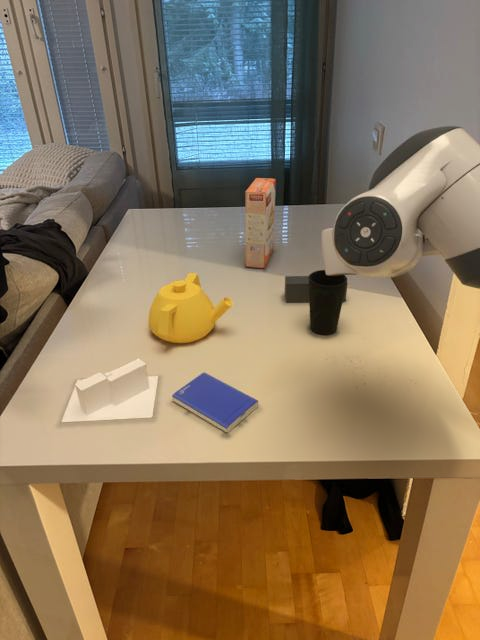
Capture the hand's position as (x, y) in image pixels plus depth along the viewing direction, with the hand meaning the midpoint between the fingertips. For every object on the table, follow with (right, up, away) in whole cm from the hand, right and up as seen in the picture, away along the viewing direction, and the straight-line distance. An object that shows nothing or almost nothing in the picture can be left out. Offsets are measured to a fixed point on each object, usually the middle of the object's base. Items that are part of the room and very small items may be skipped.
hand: (398, 250), depth 73 cm
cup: (-7, -13, +26) cm, 30 cm away
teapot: (-35, -13, +27) cm, 46 cm away
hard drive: (-29, -26, +6) cm, 39 cm away
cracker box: (-19, +6, +58) cm, 62 cm away
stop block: (-7, -6, +38) cm, 39 cm away
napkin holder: (-47, -25, +8) cm, 54 cm away
